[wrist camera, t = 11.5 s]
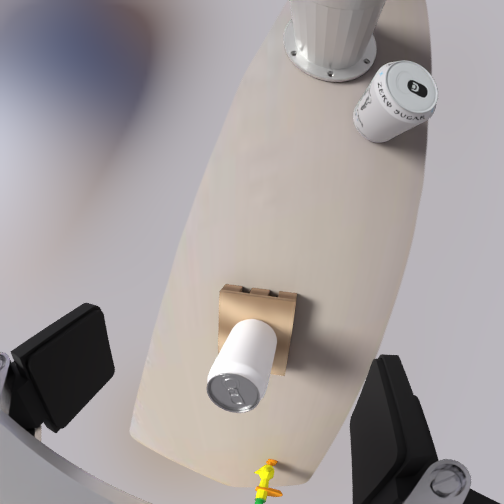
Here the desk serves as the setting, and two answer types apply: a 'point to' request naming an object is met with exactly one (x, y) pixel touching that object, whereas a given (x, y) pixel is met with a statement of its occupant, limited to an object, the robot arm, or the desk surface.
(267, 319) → the dock
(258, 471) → the toy figure
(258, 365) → the can
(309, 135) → the desk surface
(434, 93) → the energy drink can
